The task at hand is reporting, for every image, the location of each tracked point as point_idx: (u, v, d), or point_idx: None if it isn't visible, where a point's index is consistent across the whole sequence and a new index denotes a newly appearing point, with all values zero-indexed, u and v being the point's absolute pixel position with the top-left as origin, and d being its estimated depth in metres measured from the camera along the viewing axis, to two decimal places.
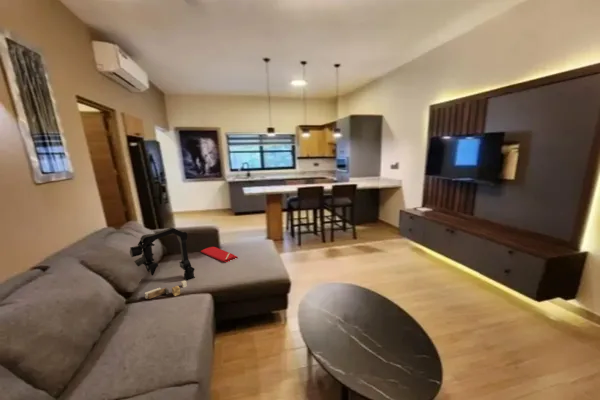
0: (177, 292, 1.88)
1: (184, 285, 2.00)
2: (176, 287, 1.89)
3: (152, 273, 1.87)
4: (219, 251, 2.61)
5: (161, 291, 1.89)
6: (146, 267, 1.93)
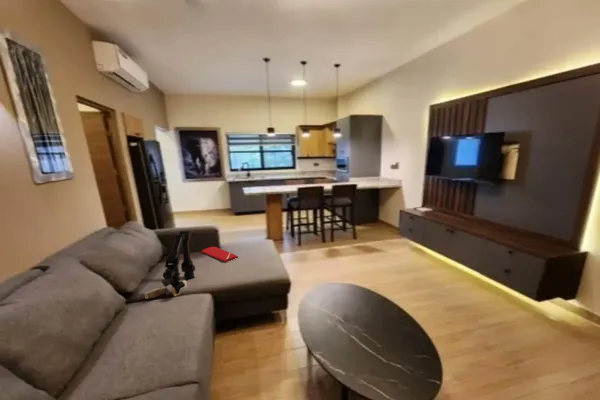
0: None
1: None
2: None
3: (177, 292, 1.88)
4: (219, 251, 2.61)
5: (161, 291, 1.89)
6: (173, 287, 1.90)
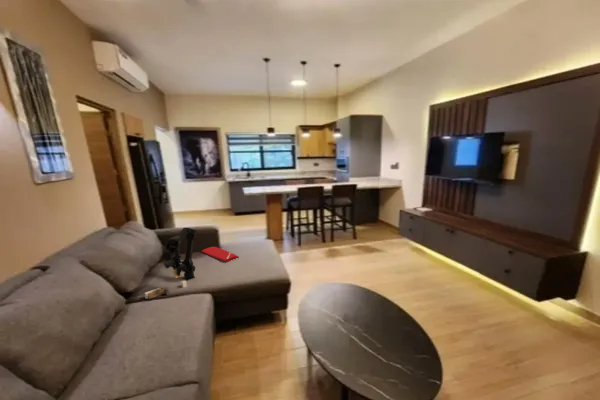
0: None
1: (184, 285, 2.00)
2: None
3: (178, 274, 1.94)
4: (220, 251, 2.61)
5: (161, 291, 1.89)
6: None
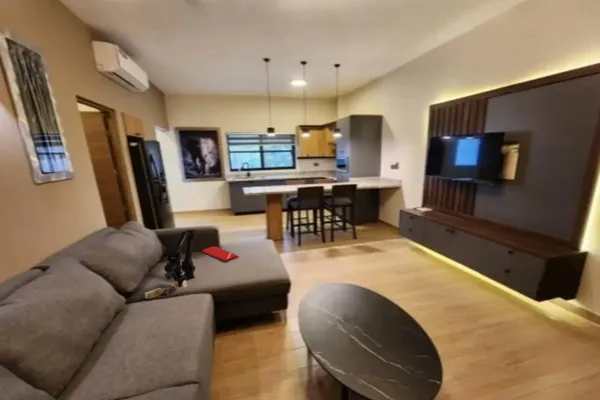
0: None
1: (184, 285, 2.00)
2: None
3: (180, 285, 1.95)
4: (220, 251, 2.61)
5: (161, 291, 1.89)
6: (175, 280, 1.99)
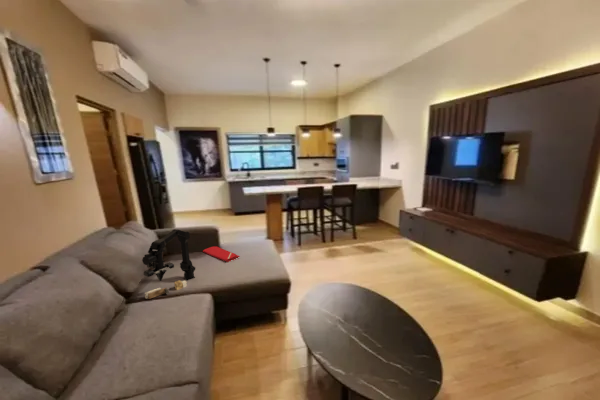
0: (179, 286, 1.96)
1: (184, 285, 2.00)
2: (178, 281, 1.97)
3: None
4: (221, 251, 2.62)
5: (161, 291, 1.89)
6: None
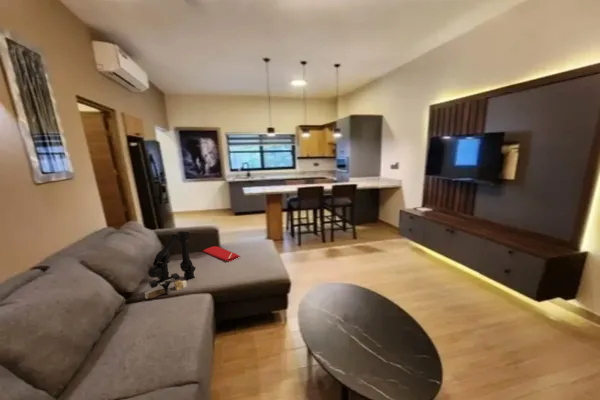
0: (179, 286, 1.96)
1: (184, 285, 2.00)
2: (178, 281, 1.97)
3: (164, 289, 1.88)
4: (221, 251, 2.62)
5: (162, 291, 1.89)
6: None
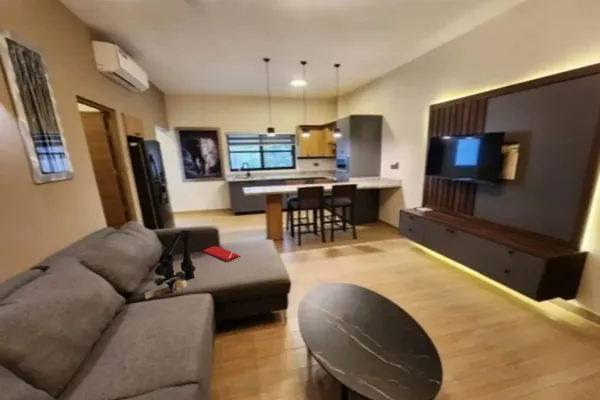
0: (179, 286, 1.96)
1: (184, 285, 2.00)
2: (178, 281, 1.97)
3: (169, 287, 1.90)
4: (221, 251, 2.62)
5: (167, 289, 1.91)
6: None
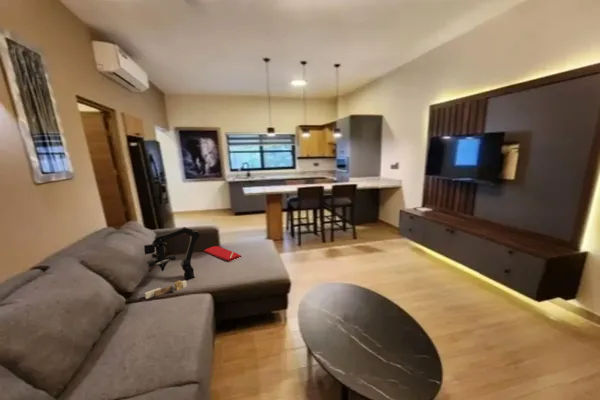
0: (179, 286, 1.96)
1: (184, 285, 2.00)
2: (178, 281, 1.97)
3: (161, 269, 2.01)
4: (222, 250, 2.63)
5: (167, 289, 1.91)
6: None
